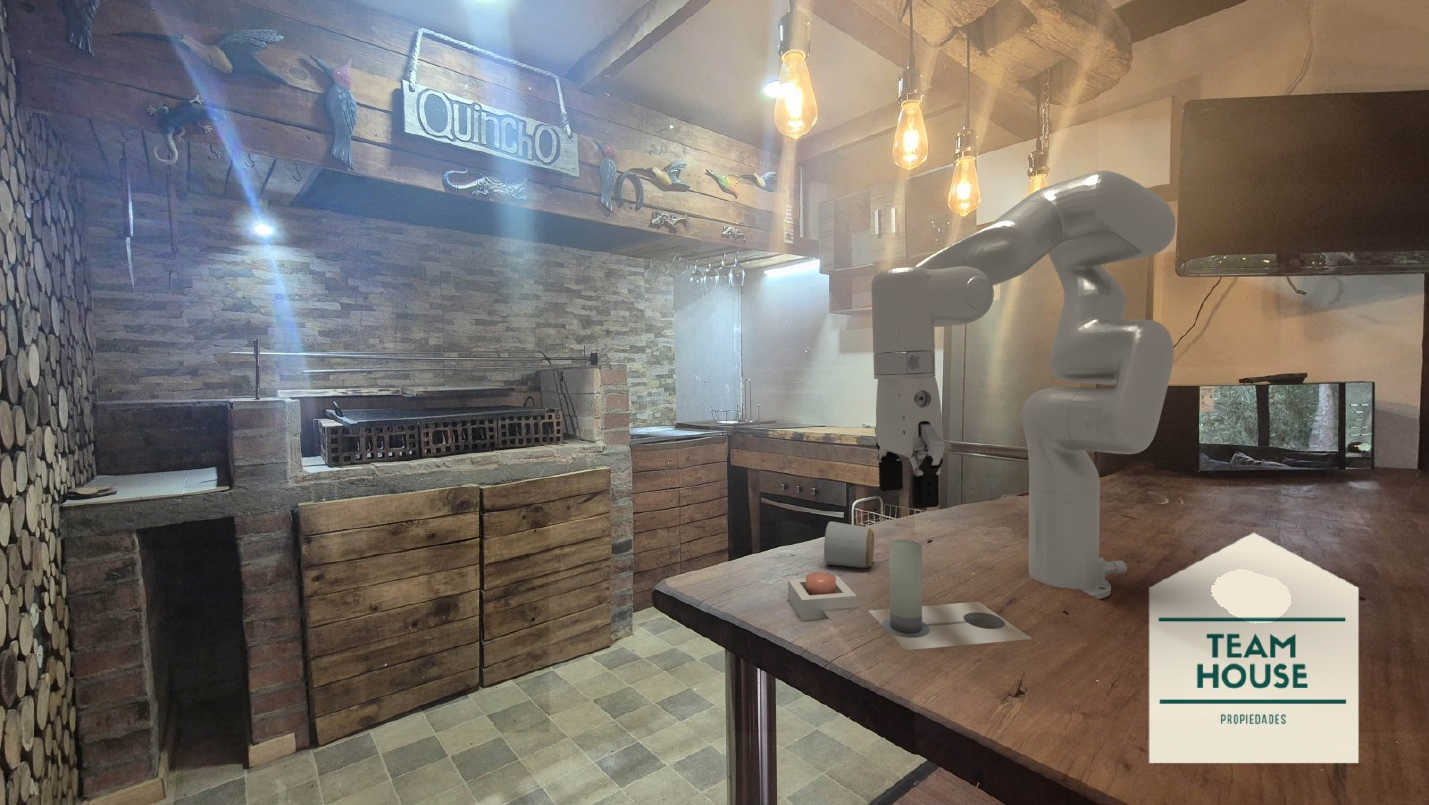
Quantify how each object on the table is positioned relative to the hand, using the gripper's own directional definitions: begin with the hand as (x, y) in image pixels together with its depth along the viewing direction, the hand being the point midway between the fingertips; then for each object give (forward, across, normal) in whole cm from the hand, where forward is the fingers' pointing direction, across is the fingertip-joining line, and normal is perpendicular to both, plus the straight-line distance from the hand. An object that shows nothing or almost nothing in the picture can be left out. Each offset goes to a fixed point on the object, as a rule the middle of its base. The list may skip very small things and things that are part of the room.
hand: (907, 497), depth 74 cm
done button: (+16, +11, +9) cm, 21 cm away
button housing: (+18, +11, +9) cm, 23 cm away
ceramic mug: (+19, +29, -2) cm, 35 cm away
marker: (+17, 0, +1) cm, 17 cm away
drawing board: (+18, 0, -5) cm, 19 cm away
